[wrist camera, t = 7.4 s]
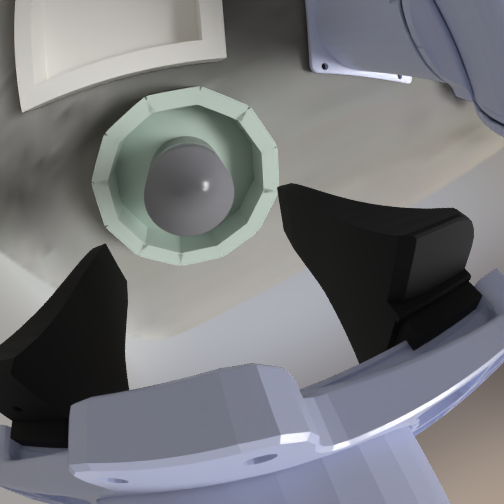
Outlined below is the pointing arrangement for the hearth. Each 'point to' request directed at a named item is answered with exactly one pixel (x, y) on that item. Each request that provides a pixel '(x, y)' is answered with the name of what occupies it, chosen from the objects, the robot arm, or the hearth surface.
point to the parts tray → (108, 42)
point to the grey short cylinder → (187, 187)
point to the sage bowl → (172, 126)
